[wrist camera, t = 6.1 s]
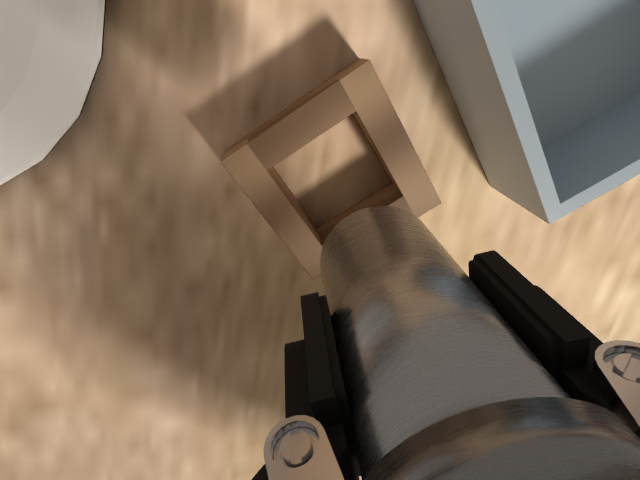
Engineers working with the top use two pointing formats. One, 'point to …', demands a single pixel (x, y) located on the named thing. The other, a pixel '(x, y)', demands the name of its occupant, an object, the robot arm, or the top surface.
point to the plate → (44, 74)
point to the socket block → (305, 125)
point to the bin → (544, 93)
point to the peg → (449, 370)
